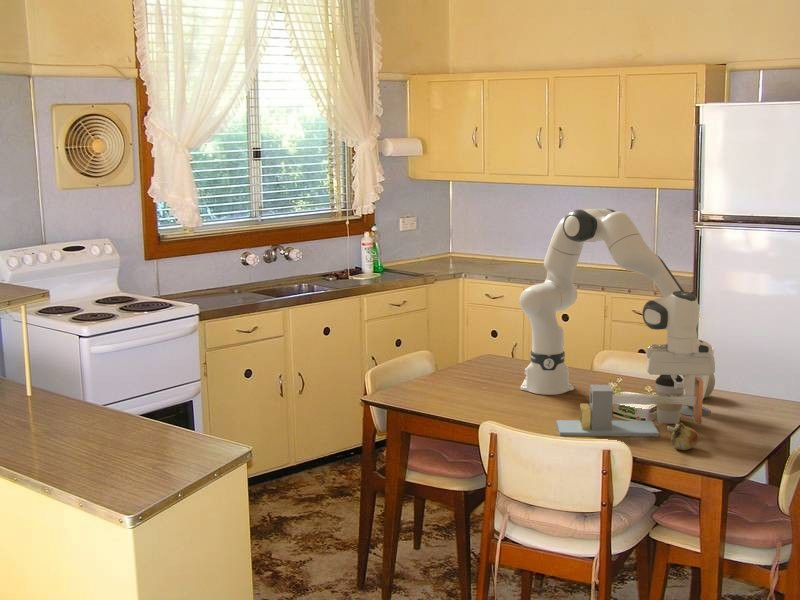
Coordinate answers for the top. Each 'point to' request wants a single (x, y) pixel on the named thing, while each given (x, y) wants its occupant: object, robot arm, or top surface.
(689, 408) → the cup
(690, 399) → the shaft
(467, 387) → the top surface
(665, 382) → the coffee cup
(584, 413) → the block
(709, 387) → the fruit
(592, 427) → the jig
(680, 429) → the onion
